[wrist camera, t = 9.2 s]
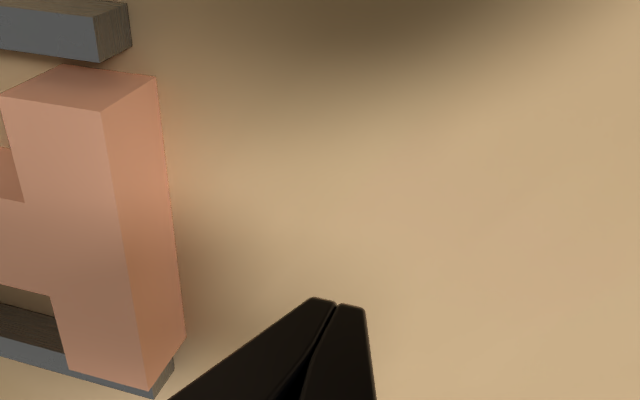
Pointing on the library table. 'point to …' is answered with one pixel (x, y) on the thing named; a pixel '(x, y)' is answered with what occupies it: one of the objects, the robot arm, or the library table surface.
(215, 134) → the library table surface
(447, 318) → the library table surface
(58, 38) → the fence
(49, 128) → the t block
